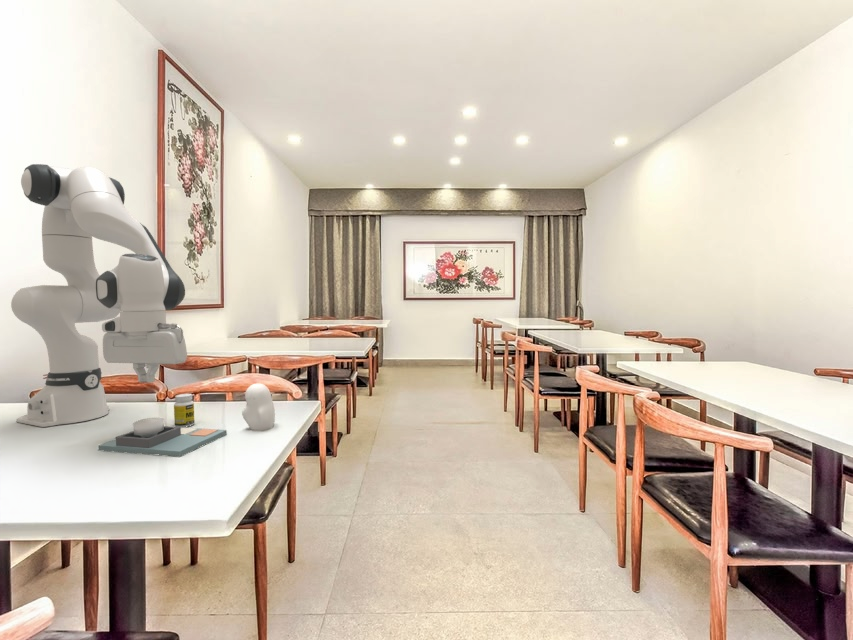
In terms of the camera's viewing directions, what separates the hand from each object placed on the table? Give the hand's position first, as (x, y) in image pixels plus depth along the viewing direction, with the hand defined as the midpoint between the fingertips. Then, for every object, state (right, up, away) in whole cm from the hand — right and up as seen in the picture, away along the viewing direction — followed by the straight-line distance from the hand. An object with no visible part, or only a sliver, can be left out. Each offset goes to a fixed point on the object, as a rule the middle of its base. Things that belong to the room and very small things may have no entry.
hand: (146, 382), depth 97 cm
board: (+3, -15, +3) cm, 15 cm away
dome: (0, -13, +1) cm, 13 cm away
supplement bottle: (-1, -15, +16) cm, 22 cm away
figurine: (+21, -14, +14) cm, 29 cm away
